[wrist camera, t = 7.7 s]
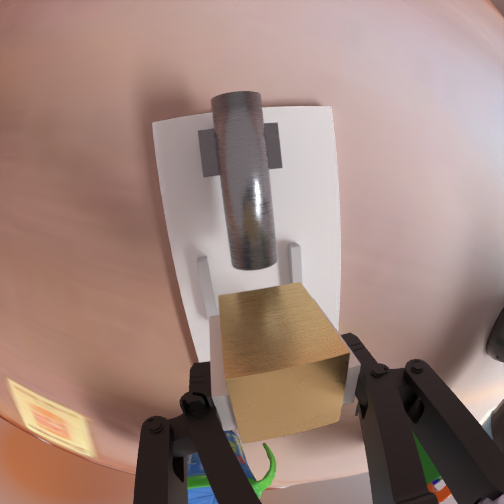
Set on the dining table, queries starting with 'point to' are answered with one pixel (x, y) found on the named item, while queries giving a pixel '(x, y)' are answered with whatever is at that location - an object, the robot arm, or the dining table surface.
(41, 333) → the dining table surface
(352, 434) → the dining table surface
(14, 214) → the dining table surface
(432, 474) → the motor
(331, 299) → the base plate
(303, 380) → the block
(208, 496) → the snack cup
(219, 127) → the shaft
